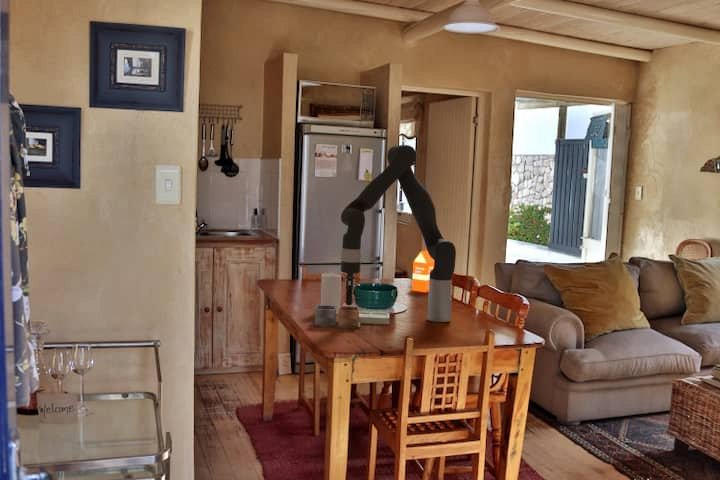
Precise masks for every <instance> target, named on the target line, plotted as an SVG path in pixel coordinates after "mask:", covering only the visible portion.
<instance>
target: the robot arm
mask: <svg viewBox="0 0 720 480" xmlns="http://www.w3.org/2000/svg"><path fill="white" fill-rule="evenodd" d="M386 158H387V163H388V166H386V168H385V169H384V170H383V171H382V172H381V173H379V174H378V175H377V176H376V177H375V178H374V179H372V180H371V181H370V182H369V183H368V184H367V185H366V186H365V187H364V189H363V190H362V192H360V194H359V195H357V197H356V198H355V199H354V200H352V201H351V202H350V203H349V204H347V206H346V207H345V208H344V209H343V210H342V212H341V215H340V221H341V223H342V224H343V225H345V226H347V231H346V233H344V234H343V236H342V245H341V246H342V248H341V255H340V256H341V257H340V258H341V260H340V272H341V273H344V274H347V275H345V277H344V282H345V283H344V285H345V286H344V289H345V294H346V303H345V306H352V304H353V303H352V295H354V290H355V285H356V284H355V283H356V276H355V275H354V274H359V273H360V272H361V267H362V266H361V263H362V261H361V260H362V252H361V249H362V248H361V247H362V236H363V232H364V229H365V226H366V225H365V223H366V216H365V214H364V213H365V212H366V211H370V210H371V209H373V208H374V207H375V205H376V204H377V203H378V201H380V199H381V198H382V196H383V195H384V194H385V193H386V191H388V189H389V188H390V187H391V186H392V185H393V184H394V183H395V181H397V180H398V182H399V185H400V187H401V191H402V192H403V194H404V197H405V199H406V201H407V204H408V207H409V208H410V209H409V210H410V211H411V213H412V215H413V217H414V219H415V223H416V224H417V226H418V228H419V230H420V232H421V236H422V238H423V241H424V244H425V247H426V251H428V253H429V255H430V257H431V258H432V259H433V260H434V268H433V270H431V271H430V276H429V291H428V297H427V299H428V302H427V314H426V316H427V317H426V318H427V319H426V320H428V321H431V322H435V323H446V322H451V319H452V315H451V314H452V301H453V299H452V288H453V287H452V284H453V275H454V272H455V270H456V269H455V267H456V259H457V250H456V246H455V245H454V243H453V242H452V241H450V240H446V239H444V237H443V236H442V233H441V231H440V229H439V225H438V224H437V213H436V212H437V211H436V207H435V205H434V201H433V200H432V198H431V195H430V194H429V191H428V189H426V187H425V186H424V185H423V184H422V183H421V182H420V179H418V178H417V176H416V175H415V173H414V171H413V168H412V166H413V165H414V164H415V162H416V161H417V152H416V150H415V148H414V147H413V146H412V145H409V144H400V145H393V146H392V147H390V148H389V149H388V151H387V155H386Z"/></svg>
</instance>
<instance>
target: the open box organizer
mask: <svg viewBox="0 0 720 480" xmlns="http://www.w3.org/2000/svg"><path fill="white" fill-rule="evenodd" d="M359 312H360V306H352V305H340V307H339V314H338V317H337V314H336V306H330V305H321V304H317V305H316V306H315V309H314V321H313V324H312V327H313V328H332V329H353V330H354V329H355V330H361V323H360V321H359ZM337 318H338V319H337Z"/></svg>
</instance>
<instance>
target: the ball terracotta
mask: <svg viewBox="0 0 720 480" xmlns="http://www.w3.org/2000/svg"><path fill="white" fill-rule="evenodd" d="M355 300H356V297H355V294H353V295H352V304H354V303H355ZM343 302H344V303H345V304H346V293H345V294H344V295H343Z"/></svg>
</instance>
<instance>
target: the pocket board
mask: <svg viewBox="0 0 720 480" xmlns="http://www.w3.org/2000/svg"><path fill="white" fill-rule="evenodd" d="M359 321H360V324H369V325H371V324H373V325H390V312H376V311H375V312H374V311H359Z"/></svg>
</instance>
